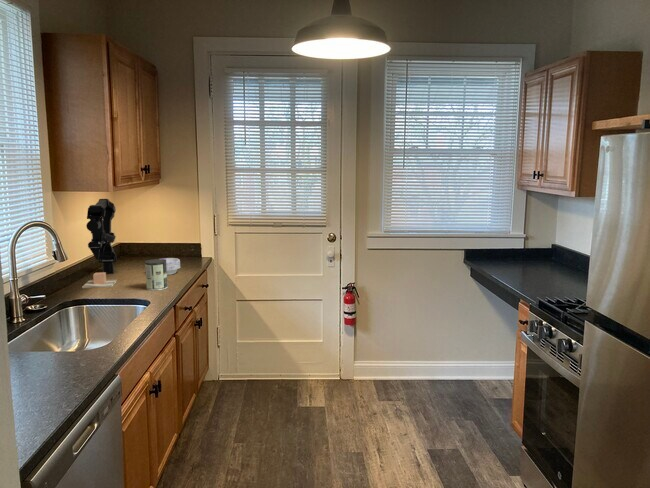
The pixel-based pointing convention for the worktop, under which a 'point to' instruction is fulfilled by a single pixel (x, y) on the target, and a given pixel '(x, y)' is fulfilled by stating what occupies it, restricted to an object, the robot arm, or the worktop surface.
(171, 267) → the paper bowls
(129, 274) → the worktop surface
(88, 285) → the striped cloth
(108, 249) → the robot arm
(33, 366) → the worktop surface
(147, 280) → the coffee can
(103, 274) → the terracotta cube
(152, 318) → the worktop surface
